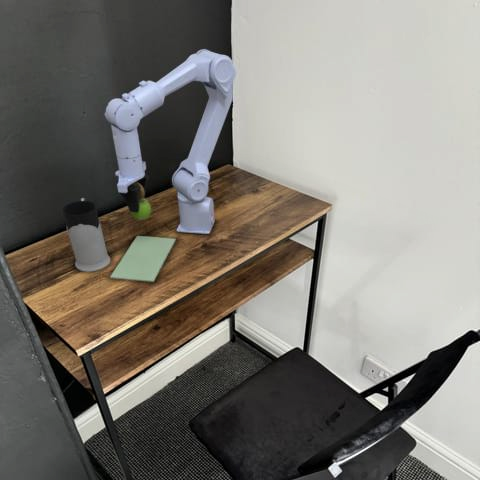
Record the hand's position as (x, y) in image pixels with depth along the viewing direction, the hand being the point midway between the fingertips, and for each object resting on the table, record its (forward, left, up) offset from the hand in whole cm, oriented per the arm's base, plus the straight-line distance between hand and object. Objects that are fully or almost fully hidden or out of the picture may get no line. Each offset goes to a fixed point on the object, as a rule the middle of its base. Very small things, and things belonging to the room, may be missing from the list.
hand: (137, 207), depth 118 cm
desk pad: (-3, +7, -10) cm, 13 cm away
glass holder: (+11, +8, -11) cm, 17 cm away
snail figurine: (0, -1, -4) cm, 4 cm away
